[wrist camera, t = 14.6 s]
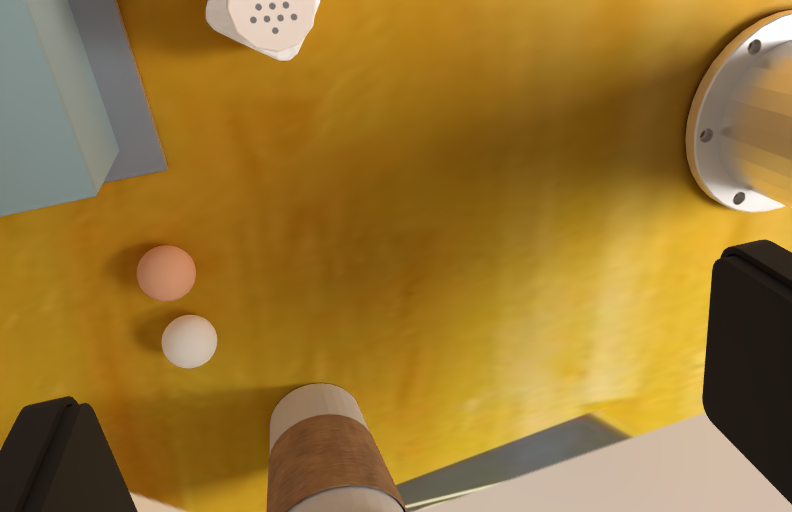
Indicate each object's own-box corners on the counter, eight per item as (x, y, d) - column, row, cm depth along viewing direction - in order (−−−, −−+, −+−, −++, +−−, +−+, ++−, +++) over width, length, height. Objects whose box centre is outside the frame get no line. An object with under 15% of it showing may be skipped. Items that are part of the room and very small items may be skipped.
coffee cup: (288, 347, 40) (321, 539, 27) (401, 391, 44) (479, 580, 31) (226, 450, 43) (229, 675, 29) (338, 483, 46) (386, 699, 33)
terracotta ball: (188, 231, 36) (186, 253, 33) (203, 278, 37) (201, 303, 35) (132, 243, 36) (125, 266, 33) (149, 291, 37) (144, 317, 34)
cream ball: (209, 299, 38) (209, 326, 35) (223, 342, 39) (223, 371, 37) (157, 312, 37) (152, 339, 35) (172, 355, 39) (168, 384, 36)
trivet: (80, -119, 28) (76, -120, 28) (168, 165, 34) (167, 169, 34) (-200, -81, 27) (-211, -82, 26) (-57, 211, 33) (-64, 217, 32)
